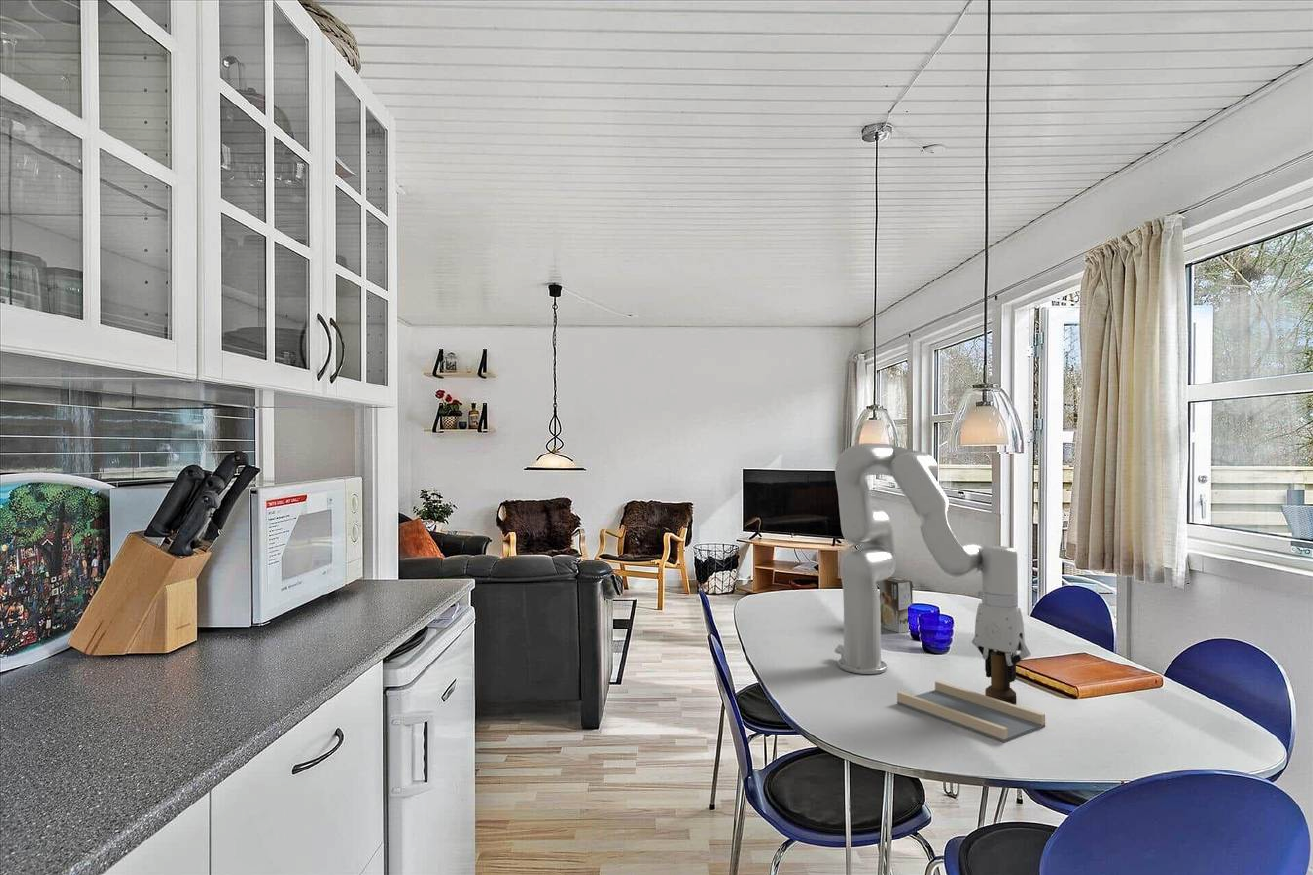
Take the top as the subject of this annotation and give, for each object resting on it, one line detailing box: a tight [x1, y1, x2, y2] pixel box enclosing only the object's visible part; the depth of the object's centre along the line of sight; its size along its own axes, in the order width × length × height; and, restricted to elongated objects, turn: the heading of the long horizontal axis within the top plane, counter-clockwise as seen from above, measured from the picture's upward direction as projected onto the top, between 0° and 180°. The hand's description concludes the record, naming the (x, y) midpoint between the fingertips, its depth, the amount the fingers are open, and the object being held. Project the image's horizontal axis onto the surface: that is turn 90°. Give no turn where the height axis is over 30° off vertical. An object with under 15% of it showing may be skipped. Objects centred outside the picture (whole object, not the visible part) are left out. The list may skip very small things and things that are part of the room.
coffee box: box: [878, 576, 914, 634], centre depth 234 cm, size 9×6×16 cm
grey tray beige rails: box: [896, 680, 1046, 743], centre depth 159 cm, size 26×15×3 cm, turn 33°
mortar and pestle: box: [984, 650, 1017, 705], centre depth 168 cm, size 7×6×18 cm
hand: (1000, 678), depth 168 cm, fingers closed on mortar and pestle, 3 cm apart
